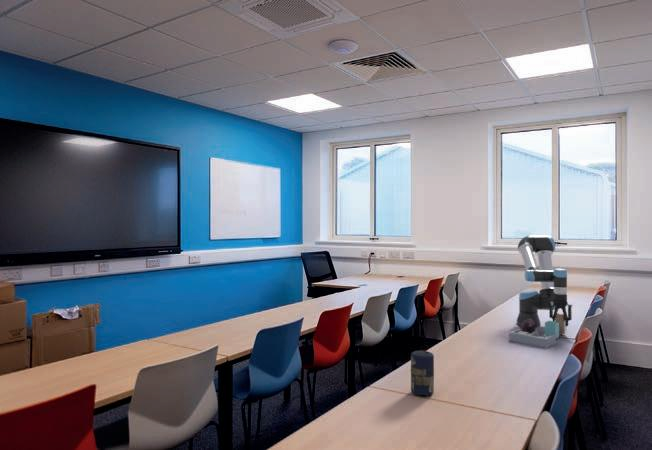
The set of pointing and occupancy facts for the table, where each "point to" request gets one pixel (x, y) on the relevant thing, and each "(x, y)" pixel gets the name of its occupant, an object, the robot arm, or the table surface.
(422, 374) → the canister
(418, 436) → the table surface
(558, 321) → the block
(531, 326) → the rock
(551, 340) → the lane rack
